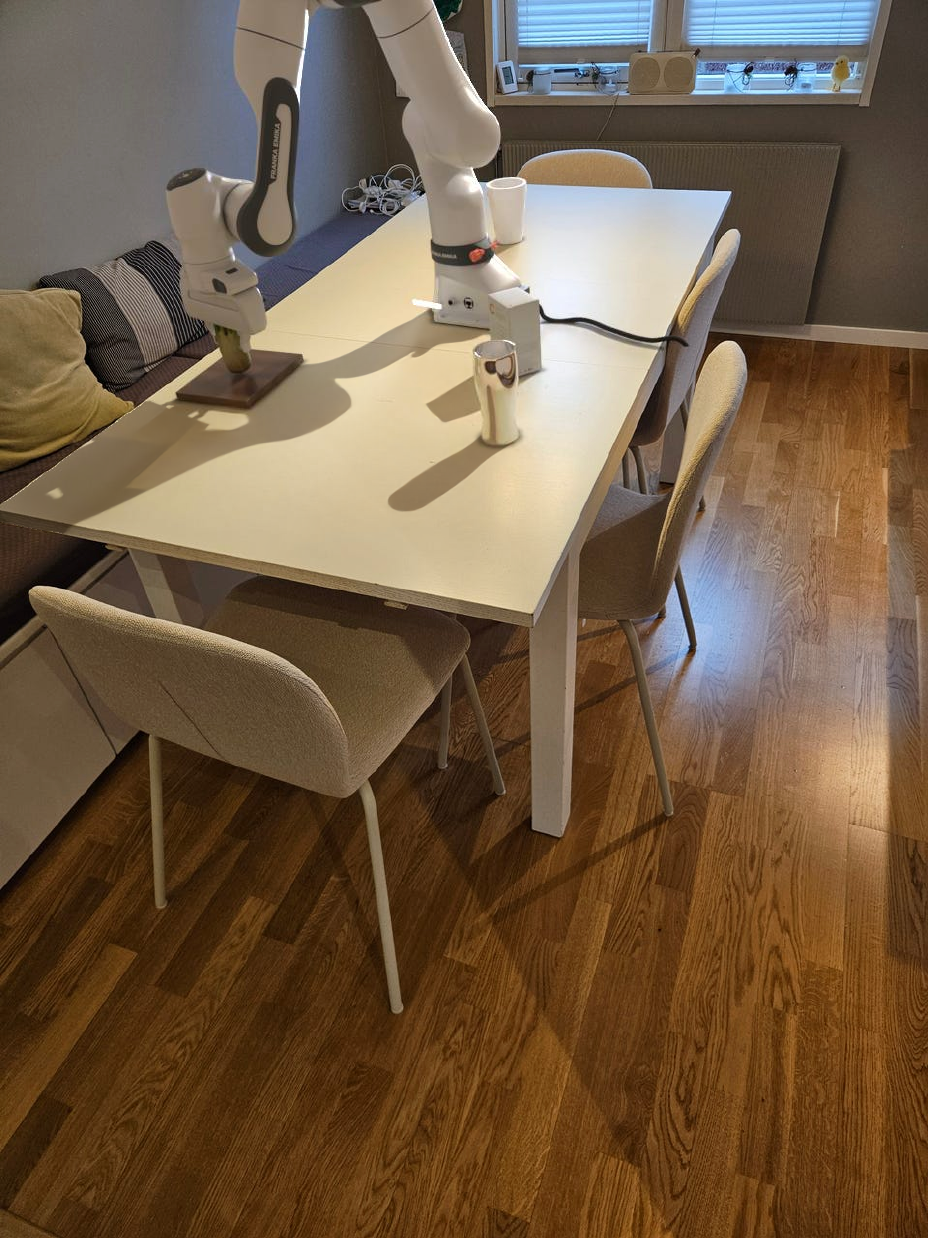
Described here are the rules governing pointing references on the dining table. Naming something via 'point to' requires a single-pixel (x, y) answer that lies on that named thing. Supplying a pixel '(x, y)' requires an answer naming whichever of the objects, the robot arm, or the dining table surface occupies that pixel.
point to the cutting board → (240, 380)
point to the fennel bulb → (232, 350)
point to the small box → (517, 325)
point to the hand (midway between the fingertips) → (233, 346)
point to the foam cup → (507, 208)
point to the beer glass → (496, 390)
